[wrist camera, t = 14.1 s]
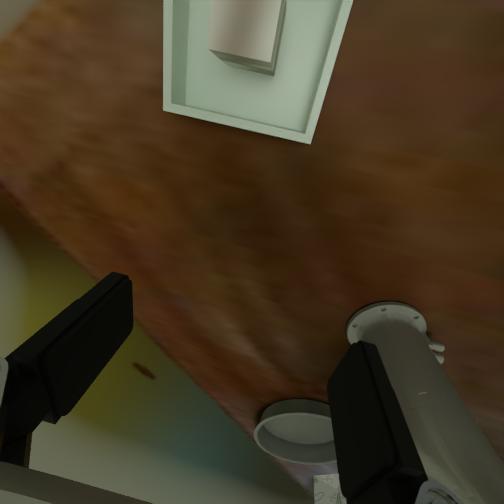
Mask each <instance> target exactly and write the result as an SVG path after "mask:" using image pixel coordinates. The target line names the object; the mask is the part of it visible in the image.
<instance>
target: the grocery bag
mask: <svg viewBox="0 0 504 504" xmlns="http://www.w3.org/2000/svg"><path fill="white" fill-rule="evenodd" d="M313 481H314V497H315V504H347V502H346V498H345V497H343V495H342V493H341V489H340V482H339V474H329V475H318V476H313Z"/></svg>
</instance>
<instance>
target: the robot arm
mask: <svg viewBox="0 0 504 504" xmlns="http://www.w3.org/2000/svg"><path fill="white" fill-rule="evenodd" d="M132 329H133V297H132V281H131V280H129V277H128V276H127V275H124V274H120V273H116V272H111V273H110V274H109V275H107V276H106V277H105V278H104V279H102V280H101V281H100V282H99V283H98V284H96V285H95V286H94V287H93V288H92V289H90V290H89V291H88V292H87V293H86V294H84V295H83V296H82V297H81V298H80V299H77V300H76V301H74V302H73V303H72V304H70V305H69V306H68V307H67V308H66V309H64V310H63V311H62V312H61V313H59V314H58V315H57V316H56V317H55V318H53V319H52V320H51V321H50V322H48V323H47V324H46V325H45V326H44V327H42V328H41V329H40V330H39V331H37V332H36V333H35V334H34V335H33V336H31V337H30V338H29V339H28V340H27V341H25V342H24V343H23V344H22V345H20V346H19V347H18V348H17V349H16V350H14V351H13V352H12V353H11V354H9V355H8V356H7V357H6V358H5V359H4V358H2V357H0V504H152V503H149V502H145V501H142V500H138V499H135V498H131V497H128V496H125V495H121V494H118V493H114V492H111V491H107V490H104V489H100V488H97V487H93V486H90V485H86V484H83V483H80V482H76V481H73V480H69V479H66V478H62V477H59V476H55V475H51V474H48V473H44V472H40V471H36V470H32V469H29V460H30V451H31V442H32V432H33V431H34V430H35V429H36V427H37V426H38V425H39V424H40V423H41V421H45V422H49V423H53V424H56V423H57V421H58V420H59V419H60V417H61V416H65V415H67V414H68V413H69V412H70V411H71V410H72V409H73V407H74V406H75V405H76V404H77V402H78V401H79V400H80V398H81V397H82V396H83V394H84V393H85V392H86V391H87V389H88V388H89V387H90V385H91V384H92V383H93V381H94V380H95V379H96V377H97V376H98V375H99V373H100V372H101V371H102V369H103V368H104V367H105V366H106V364H107V363H108V362H109V361H110V359H111V358H112V357H113V355H114V354H115V353H116V351H117V350H118V349H119V347H120V346H121V345H122V343H123V342H124V341H125V340H126V338H127V337H128V336H129V334H130V333H131V331H132ZM426 330H427V325H426V322H425V319H424V318H423V316H422V315H421V313H420V312H419V311H418V310H417V309H415V308H414V307H412V306H410V305H408V304H405V303H400V302H391V301H390V302H380V303H375V304H372V305H369V306H366V307H364V308H362V309H361V310H359V311H358V312H356V313H355V314H354V315H353V316H352V317H351V319H350V320H349V322H348V324H347V328H346V333H347V337H348V340H349V342H350V344H351V347H350V348H349V350H348V351H347V353H346V354H345V356H344V357H343V359H342V360H341V362H340V364H339V365H338V367H337V368H336V370H335V371H334V373H333V374H332V376H331V377H330V379H329V381H328V384H327V392H328V399H329V407H330V414H331V422H332V429H333V437H334V444H335V452H336V459H337V467H338V474H339V482H340V489H341V493H342V495H343V497H345V498H346V502H347V504H504V465H503V463H502V462H501V460H500V459H499V457H498V456H497V454H496V453H495V451H494V449H493V448H492V446H491V445H490V443H489V442H488V440H487V439H486V437H485V436H484V434H483V432H482V431H481V429H480V428H479V426H478V424H477V423H476V421H475V419H474V418H473V416H472V415H471V413H470V411H469V410H468V408H467V407H466V405H465V403H464V402H463V400H462V399H461V397H460V395H459V394H458V392H457V390H456V389H455V387H454V386H453V384H452V382H451V381H450V379H449V378H448V376H447V374H446V373H445V371H444V369H443V368H442V366H441V365H440V364H442V363H443V361H444V357H443V355H442V354H441V353H439V352H435V351H432V350H431V349H433V350H437V351H441V352H442V351H444V349H445V347H444V344H442V343H439V342H435V341H430V339H429V338H428V336H427V335H426Z"/></svg>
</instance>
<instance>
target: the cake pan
mask: <svg viewBox="0 0 504 504" xmlns="http://www.w3.org/2000/svg"><path fill="white" fill-rule="evenodd" d="M254 438H255V441H256V442H257V444H258V445H259V446H260V447H261V448H262V449H263V450H264V451H266V452H267V453H269V454H271V455H273V456H275V457H277V458H280V459H282V460H286V461H289V462H294V463H299V464H309V465H320V464H330V463H335V462H337V459H336V452H335V444H334V437H333V429H332V422H331V414H330V407H329V405H327V404H324V403H321V402H317V401H313V400H305V399H292V400H284V401H280V402H277V403H275V404H272V405H271V406H269V407H268V408H266V410H265V411H264V412H263V414H262V418H261V421H260V423H259V424H258V425H257V426H256V428H255V430H254Z"/></svg>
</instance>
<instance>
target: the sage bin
mask: <svg viewBox="0 0 504 504" xmlns="http://www.w3.org/2000/svg"><path fill="white" fill-rule="evenodd" d="M352 3H353V0H287V4H286V17H285V23H284V28H283V33H282V39H281V44H280V49H279V54H278V60H277V65H276V70H275V75H274V76H271V75H266V74H262V73H257V72H252V71H248V70H243V69H239V68H234V67H229V66H228V65H226V64H225V63H224V62H223V61H222V60H220V59H219V58H218V57H217V56H216V55H214V54H213V53H212V52H211V51H210V50H208V39H209V24H210V10H211V0H164V55H163V110H164V111H168V112H172V113H177V114H181V115H185V116H190V117H194V118H198V119H203V120H207V121H211V122H216V123H220V124H224V125H229V126H233V127H237V128H242V129H246V130H250V131H255V132H259V133H264V134H268V135H272V136H277V137H281V138H285V139H290V140H294V141H298V142H303V143H307V144H311V141H312V137H313V134H314V131H315V127H316V124H317V121H318V117H319V114H320V110H321V107H322V104H323V100H324V97H325V94H326V90H327V87H328V83H329V80H330V77H331V73H332V70H333V67H334V63H335V60H336V57H337V53H338V50H339V46H340V43H341V40H342V36H343V33H344V30H345V26H346V23H347V20H348V16H349V13H350V9H351V6H352Z"/></svg>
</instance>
